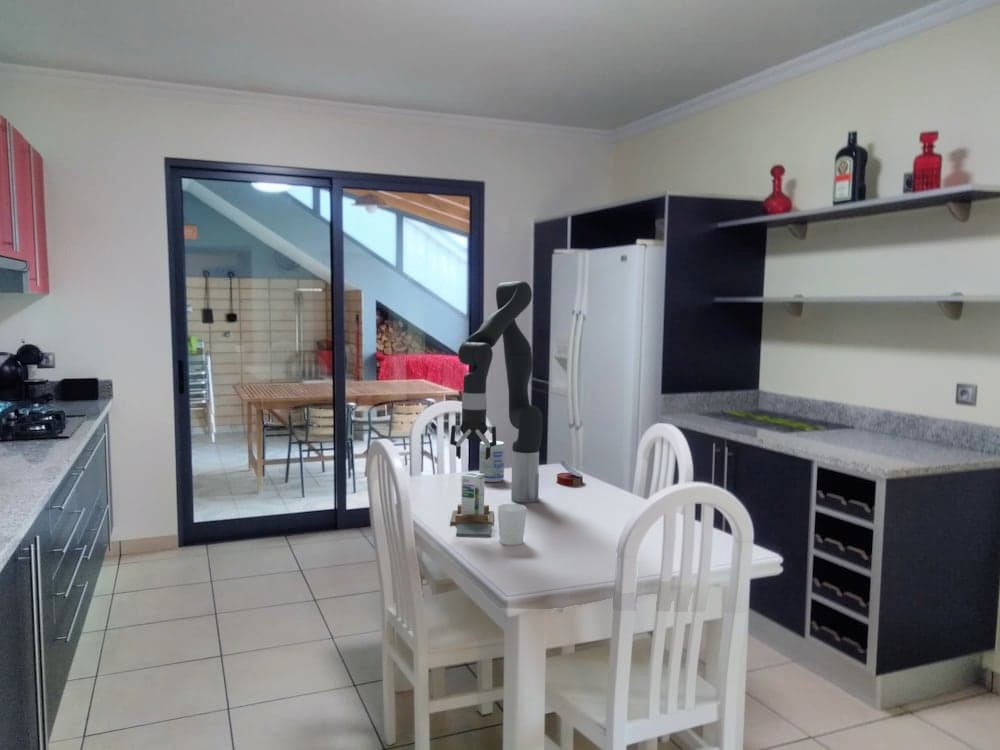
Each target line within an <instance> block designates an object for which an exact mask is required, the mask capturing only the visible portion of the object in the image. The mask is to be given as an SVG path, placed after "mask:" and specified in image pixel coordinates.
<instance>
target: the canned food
mask: <svg viewBox="0 0 1000 750" xmlns="http://www.w3.org/2000/svg"><path fill="white" fill-rule="evenodd" d="M559 463H560V465H561V466H562V468H563V469H564V470H565V471H567V472H560V473H557V474H556V484H558V485H561V486H565V487H576V486H577V485H578V486H582V485H583V478H584V477H583V475H582V474H581V473H580V472H578V471H577V470H575V469H573V468H572V467H570V466H569V465H568V464H566V463H565V461H564V460H560V461H559ZM581 484H582V485H581Z"/></svg>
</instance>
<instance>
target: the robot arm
mask: <svg viewBox="0 0 1000 750" xmlns="http://www.w3.org/2000/svg"><path fill="white" fill-rule="evenodd" d="M495 291H496V292H495V298H496V299H495V300H496V305H497V307H496V308H497V310H496V311H495V312H493V313H492V314H490V315H489V316H488V317H487V318H486V319H485V320H484V321H483V322H482V324H481V325H480V327H478V330H476V332H474V333H472V334H471V335H470V336H469V337H468V338H466V339H465V340H464V341H463V342H462V343H461V344H460V346H459V348H458V353H457V356H458V357H457V358H458V360H459V361H460V363H462V364H463V365H466V366H467V365H468V366H476V369H475V371H474V372H468V373H466V374H464V375H463V382H462V383H463V386H462V387H463V388H462V389H463V390H462V399H461V400H462V401H461V402H462V403H461V424H460V425H456V424H452V425H451V428H450V429H451V430H450V440H449V441H450V442H449V443H450V445H452V446H455V457H457V459H458V460H460V459H461V456H462V455H461V454H462V446H461V445H462V444H463V442H464V441H466V439H467V440H468V441H469V440H475V441H479V440H481V442H482V441H483V442H484V444H485V445H486V446H487V447H486V459H487V460H488V458H490V448H491V447H492V446H495V445H496V441H497V427H496V425H492V426H490V425H489V426H488V425H487V406H488V405H487V378H488V374H489V371H490V367H491V363H492V360H493V354H494V353H493V349H492V348H493V347H494V346H496V344H497V343H498V342H499V339H500V338H501V336H502V340H503V341H502V342H503V353H504V362H505V369H506V380H507V387H508V419H509V422H510V424H511V426H512V427H513V428H514V429H517V430H518V433H517V434H518V435H517V438H516V440H514V441H513V442H512V444H511V445H512V447H511V449H512V450H511V451H512V452H511V455H512V456H511V457H512V459H511V493H510V495H511V500H512V501H513V502H516V503H524V504H525V503H534V502H539V487H540V486H539V485H540V484H539V481H540V479H539V478H540V477H539V476H540V475H539V474H540V473H539V471H540V470H539V468H540V466H539V465H540V446H541V443H542V439H543V426H544V425H543V424H544V420H543V419H544V418H543V413H542V411H541V409H539V407H537V406H536V405H531V403H530V398H529V390H528V388H529V382H530V379H531V378H530V377H531V375H532V371H533V357H532V356H533V354H532V348H531V347H532V346H531V344H530V343H529V340H528V339H527V338H526V336H525V335H524V333H523V332H522V331H521V329H520V327H519V325H518V324H517V322H516V319H517V318H518V317H519V316H520V314H522V312H524V311H525V309H527V308H528V306H530V304H531V301H532V299H533V298H532V297H533V294H532V288H531V286H530V284H529V283H528V282H526V281H522V280H519V281H518V280H516V281H506V282H505V281H504V282H501V283H499V284H497V287H496V289H495ZM459 430H460V431H461V433H462V435H461V437H460V438H459V439H458V441H457V440H456V433H458V431H459ZM487 431H488V432H489V434H491V441H492V442H489V441H490V440H488V438H487V436H486V435H485V434H486V432H487Z"/></svg>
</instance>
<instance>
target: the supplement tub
mask: <svg viewBox="0 0 1000 750" xmlns="http://www.w3.org/2000/svg"><path fill="white" fill-rule="evenodd" d="M488 441H489V442H492V440H488ZM486 447H487V446H486V445H485V444H484V442H483V441H482V440H481V441H480V442H479V468H478V470H479V472H478V473H480V474H485V481H484V483H498V482H502V481H503V480H504V476H505V472H504V471H505V441H500V440H496V445H495V446H492V447H491V448H490V458H488V460H487V459H486Z"/></svg>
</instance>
